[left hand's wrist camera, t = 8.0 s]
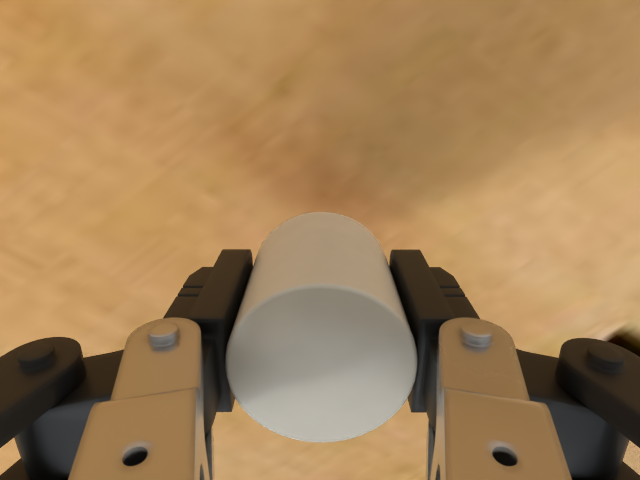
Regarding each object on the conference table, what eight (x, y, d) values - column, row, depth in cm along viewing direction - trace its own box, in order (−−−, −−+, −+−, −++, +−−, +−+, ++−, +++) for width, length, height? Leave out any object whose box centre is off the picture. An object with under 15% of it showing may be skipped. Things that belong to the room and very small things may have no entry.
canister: (342, 349, 13) (351, 469, 9) (231, 293, 13) (191, 397, 9) (413, 253, 12) (458, 343, 8) (296, 185, 11) (284, 248, 8)
